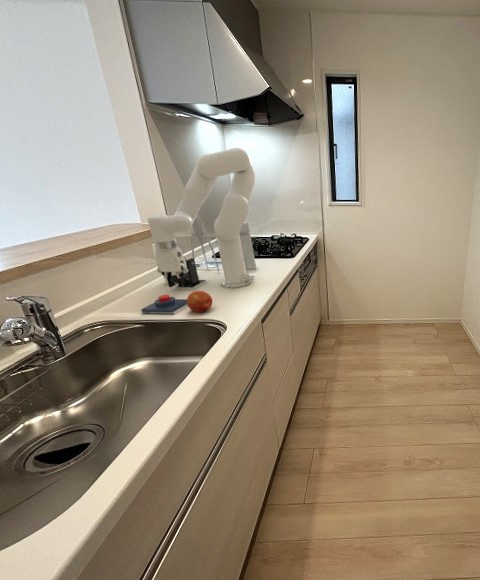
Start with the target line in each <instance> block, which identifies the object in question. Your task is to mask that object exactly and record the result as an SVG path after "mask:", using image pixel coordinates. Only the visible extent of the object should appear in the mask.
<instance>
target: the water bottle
mask: <svg viewBox="0 0 480 580" xmlns="http://www.w3.org/2000/svg"><path fill="white" fill-rule="evenodd" d="M239 235H240V240H241V245H242V251H243V257H244V262H245V267H246V271H254V270H256V269H257V265H256V258H255V253H254V247H253V242H252V235H251V230H250V226H249V223H248V221H244V223H243V226H242V228H241V230H240V233H239Z"/></svg>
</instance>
